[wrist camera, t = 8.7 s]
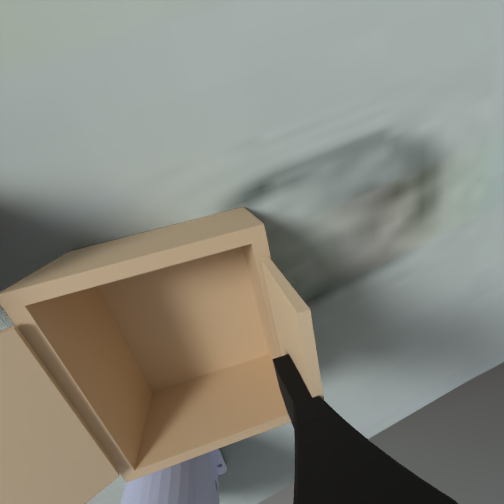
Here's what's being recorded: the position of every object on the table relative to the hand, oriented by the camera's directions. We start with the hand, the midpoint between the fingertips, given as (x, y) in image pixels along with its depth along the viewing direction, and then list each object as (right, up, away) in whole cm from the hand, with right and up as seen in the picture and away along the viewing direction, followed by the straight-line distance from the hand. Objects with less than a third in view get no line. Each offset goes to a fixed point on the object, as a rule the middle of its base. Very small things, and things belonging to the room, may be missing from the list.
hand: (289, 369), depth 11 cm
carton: (-7, +1, +8) cm, 10 cm away
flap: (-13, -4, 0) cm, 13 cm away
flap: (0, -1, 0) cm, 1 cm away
